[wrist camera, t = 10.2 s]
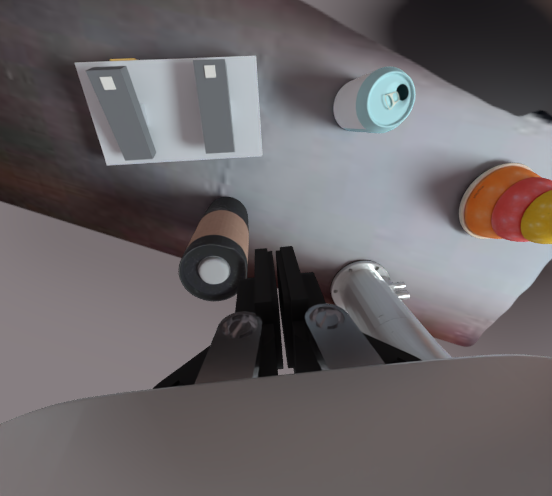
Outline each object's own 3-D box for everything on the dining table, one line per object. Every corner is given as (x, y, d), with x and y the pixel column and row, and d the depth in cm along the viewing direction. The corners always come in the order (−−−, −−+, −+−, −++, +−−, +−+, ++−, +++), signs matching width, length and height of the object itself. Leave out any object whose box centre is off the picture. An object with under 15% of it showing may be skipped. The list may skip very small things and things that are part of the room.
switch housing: (255, 61, 37) (255, 50, 31) (261, 152, 42) (262, 157, 37) (95, 67, 36) (66, 57, 30) (122, 160, 41) (102, 166, 35)
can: (344, 71, 39) (381, 51, 28) (384, 91, 40) (433, 79, 29) (324, 121, 41) (350, 120, 30) (362, 137, 43) (400, 142, 32)
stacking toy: (484, 246, 54) (595, 304, 37) (437, 214, 50) (538, 262, 32) (542, 186, 49) (702, 221, 32) (496, 145, 45) (651, 159, 28)
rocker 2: (226, 64, 32) (224, 58, 30) (235, 152, 35) (234, 151, 33) (196, 65, 31) (192, 59, 29) (208, 153, 35) (205, 153, 33)
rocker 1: (126, 65, 29) (119, 69, 28) (156, 152, 36) (152, 159, 35) (93, 67, 29) (84, 71, 27) (129, 154, 36) (124, 161, 34)
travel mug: (204, 232, 48) (176, 299, 30) (207, 191, 44) (177, 238, 26) (246, 238, 49) (243, 305, 31) (252, 198, 46) (252, 247, 28)
